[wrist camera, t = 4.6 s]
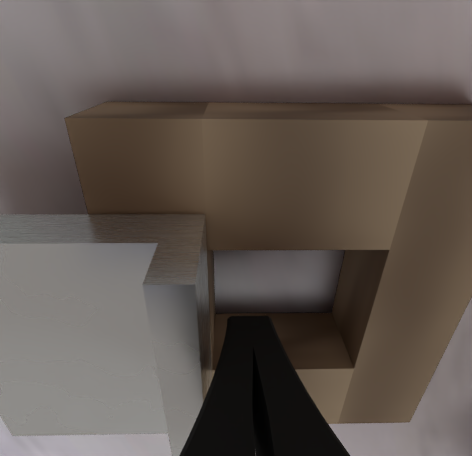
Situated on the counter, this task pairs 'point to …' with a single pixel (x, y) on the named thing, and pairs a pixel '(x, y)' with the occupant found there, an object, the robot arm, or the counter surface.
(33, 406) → the grey stepped block
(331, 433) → the robot arm
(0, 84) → the counter surface
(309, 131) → the socket plate
